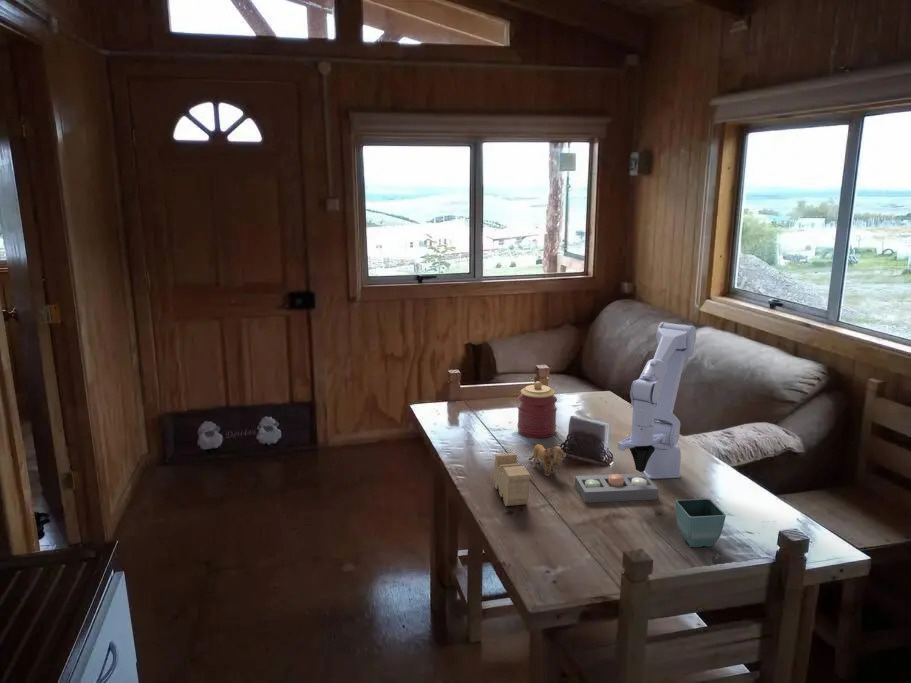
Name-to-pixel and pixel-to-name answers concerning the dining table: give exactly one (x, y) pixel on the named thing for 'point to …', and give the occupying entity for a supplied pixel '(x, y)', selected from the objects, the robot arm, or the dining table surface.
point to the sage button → (592, 483)
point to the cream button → (638, 481)
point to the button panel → (616, 489)
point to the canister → (537, 411)
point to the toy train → (511, 479)
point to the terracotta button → (615, 480)
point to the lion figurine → (547, 457)
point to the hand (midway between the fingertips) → (640, 470)
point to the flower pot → (699, 521)
